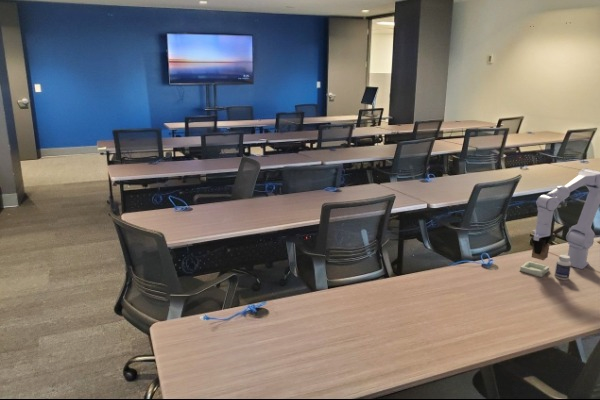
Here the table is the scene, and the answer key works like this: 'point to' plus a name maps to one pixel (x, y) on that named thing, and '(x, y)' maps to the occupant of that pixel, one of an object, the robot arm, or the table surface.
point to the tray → (534, 269)
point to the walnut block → (543, 254)
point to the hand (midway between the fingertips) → (539, 251)
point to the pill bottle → (563, 267)
